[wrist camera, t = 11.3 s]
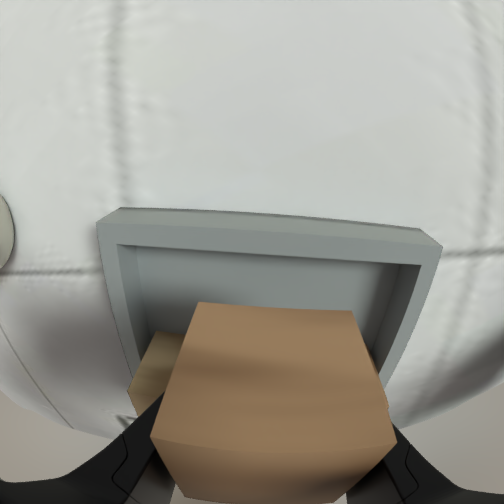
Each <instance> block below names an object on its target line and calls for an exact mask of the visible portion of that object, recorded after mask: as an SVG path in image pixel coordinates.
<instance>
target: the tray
mask: <svg viewBox="0 0 504 504" xmlns="http://www.w3.org/2000/svg"><path fill="white" fill-rule="evenodd" d="M96 227H97V234H98V241H99V247H100V253H101V259H102V265H103V270H104V275H105V280H106V285H107V290H108V294H109V298H110V303H111V307H112V311H113V315H114V319H115V322H116V326H117V330H118V333H119V337H120V340H121V344H122V347H123V350H124V353H125V357H126V360H127V363H128V366H129V369H130V372H131V375H132V377H133V378H134V376H135V373H136V371H137V369H138V367H139V365H140V363H141V361H142V359H143V357H144V355H145V353H146V351H147V349H148V346H149V344H150V342H151V340H152V338H153V336H154V334H155V332H156V331H162V332H169V333H177V334H184V335H186V333H187V331H188V328H189V325H190V323H191V320H192V317H193V315H194V312H195V310H196V307H197V304H198V302H208V303H219V304H231V305H244V306H258V307H274V308H292V309H314V310H348V311H352V313H353V315H354V318H355V320H356V323H357V325H358V328H359V330H360V333H361V336H362V338H363V341H364V344H367V346H368V348H369V351H370V354H371V356H372V359H373V362H374V364H375V367H376V370H377V372H378V375H379V378H380V381H381V384H382V386H383V389H384V388H385V387H386V385H387V383H388V381H389V379H390V378H391V376H392V374H393V372H394V370H395V368H396V366H397V364H398V362H399V360H400V358H401V356H402V354H403V352H404V350H405V348H406V346H407V343H408V341H409V339H410V337H411V335H412V332H413V330H414V328H415V325H416V323H417V321H418V318H419V316H420V313H421V311H422V308H423V306H424V303H425V300H426V298H427V295H428V292H429V289H430V287H431V284H432V281H433V278H434V275H435V272H436V269H437V265H438V262H439V259H440V256H441V252H442V249H443V246H442V245H440V244H439V243H438V242H436V241H435V240H434V239H433V238H431V237H430V236H429V235H427V234H426V233H425V232H424V231H422V230H421V229H418V228H410V227H402V226H394V225H385V224H377V223H367V222H358V221H348V220H338V219H327V218H316V217H305V216H292V215H279V214H265V213H250V212H233V211H215V210H193V209H166V208H123V207H120V208H119V209H117V210H115V211H114V212H112V213H110V214H109V215H107V216H105V217H104V218H102V219H101V220H99V221H97V222H96Z"/></svg>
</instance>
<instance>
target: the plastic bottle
mask: <svg viewBox="0 0 504 504" xmlns="http://www.w3.org/2000/svg"><path fill="white" fill-rule="evenodd" d="M13 243H14V229H13V222H12V218H11V214H10V211H9V209H8V206H7V204H6V202H5V201H4V199H3V197H2V196H1V195H0V269H1V268H2V266H3V265H4V264H5V263H6V262H7V261H8V258H9V256H10V253H11V250H12V247H13Z"/></svg>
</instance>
